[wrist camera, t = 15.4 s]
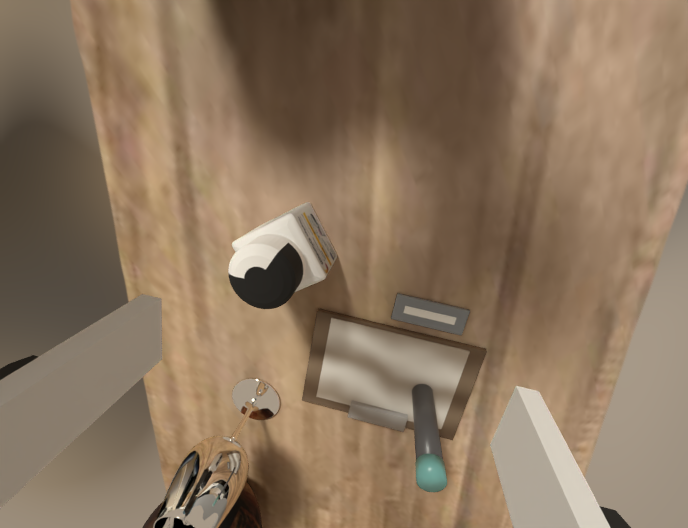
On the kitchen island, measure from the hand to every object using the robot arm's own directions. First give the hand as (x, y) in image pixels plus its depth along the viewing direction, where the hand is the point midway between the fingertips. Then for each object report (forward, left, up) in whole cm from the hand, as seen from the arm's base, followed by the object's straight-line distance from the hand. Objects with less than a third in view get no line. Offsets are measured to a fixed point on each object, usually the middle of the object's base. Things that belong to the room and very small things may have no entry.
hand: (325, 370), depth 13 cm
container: (+6, -9, -31) cm, 33 cm away
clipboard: (+22, +6, -31) cm, 38 cm away
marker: (+23, +11, -30) cm, 39 cm away
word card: (+11, +9, -31) cm, 34 cm away
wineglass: (+32, -12, -31) cm, 46 cm away
